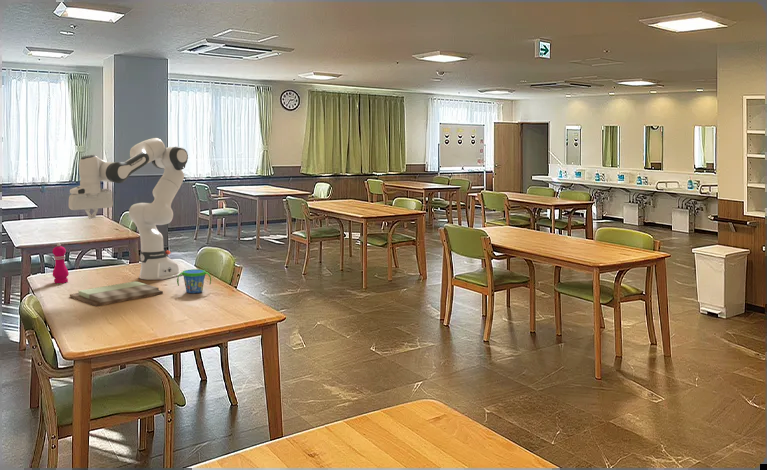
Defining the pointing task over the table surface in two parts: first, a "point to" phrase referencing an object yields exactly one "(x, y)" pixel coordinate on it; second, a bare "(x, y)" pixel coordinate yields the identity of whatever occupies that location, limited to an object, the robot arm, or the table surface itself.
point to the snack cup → (194, 280)
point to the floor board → (119, 295)
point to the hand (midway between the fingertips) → (92, 218)
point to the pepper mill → (60, 265)
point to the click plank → (109, 288)
